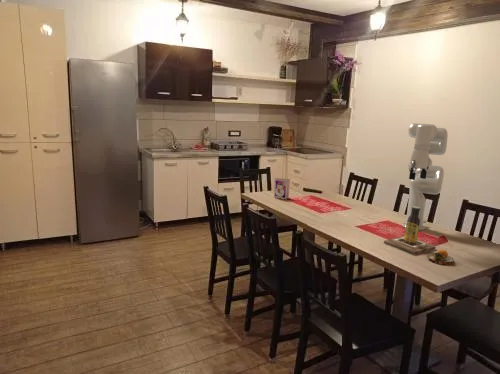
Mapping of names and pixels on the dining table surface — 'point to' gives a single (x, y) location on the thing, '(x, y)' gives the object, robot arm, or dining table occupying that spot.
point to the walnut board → (409, 246)
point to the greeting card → (281, 188)
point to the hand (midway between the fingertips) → (417, 178)
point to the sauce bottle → (412, 226)
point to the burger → (440, 257)
